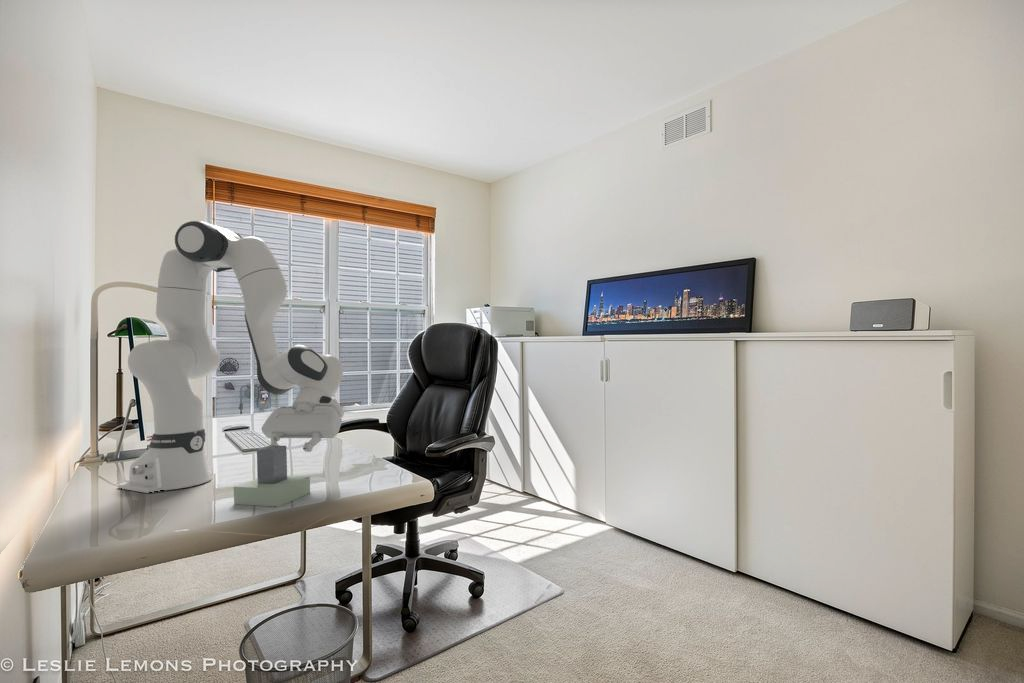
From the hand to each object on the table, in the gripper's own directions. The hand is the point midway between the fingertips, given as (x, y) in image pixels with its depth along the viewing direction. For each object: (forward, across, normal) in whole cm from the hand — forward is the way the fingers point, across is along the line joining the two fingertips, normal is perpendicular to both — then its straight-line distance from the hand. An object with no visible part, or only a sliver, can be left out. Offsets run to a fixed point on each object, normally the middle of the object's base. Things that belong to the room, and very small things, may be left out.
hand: (289, 450), depth 126 cm
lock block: (+9, 0, 0) cm, 9 cm away
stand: (+12, 0, +2) cm, 12 cm away
